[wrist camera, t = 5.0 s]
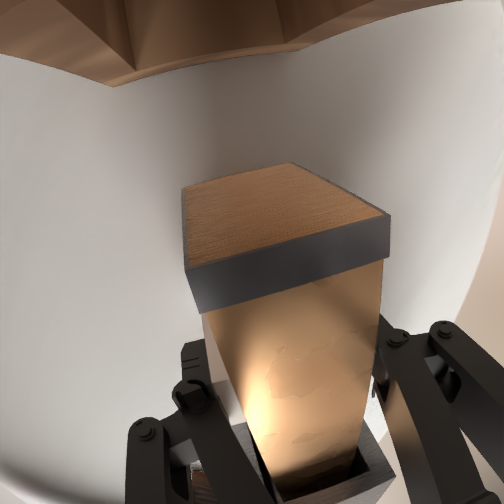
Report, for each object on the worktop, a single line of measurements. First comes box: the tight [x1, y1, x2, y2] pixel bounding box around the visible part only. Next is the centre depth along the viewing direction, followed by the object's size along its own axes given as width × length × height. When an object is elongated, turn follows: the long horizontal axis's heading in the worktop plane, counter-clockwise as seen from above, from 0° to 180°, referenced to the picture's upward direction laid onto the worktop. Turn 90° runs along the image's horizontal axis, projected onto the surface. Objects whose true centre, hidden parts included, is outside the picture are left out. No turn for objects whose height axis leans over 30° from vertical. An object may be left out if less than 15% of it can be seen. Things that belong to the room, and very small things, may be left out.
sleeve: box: [230, 419, 396, 504], centre depth 17 cm, size 7×10×10 cm
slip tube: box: [181, 163, 391, 502], centre depth 13 cm, size 4×20×6 cm, turn 10°
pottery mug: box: [191, 471, 219, 504], centre depth 23 cm, size 12×10×8 cm
